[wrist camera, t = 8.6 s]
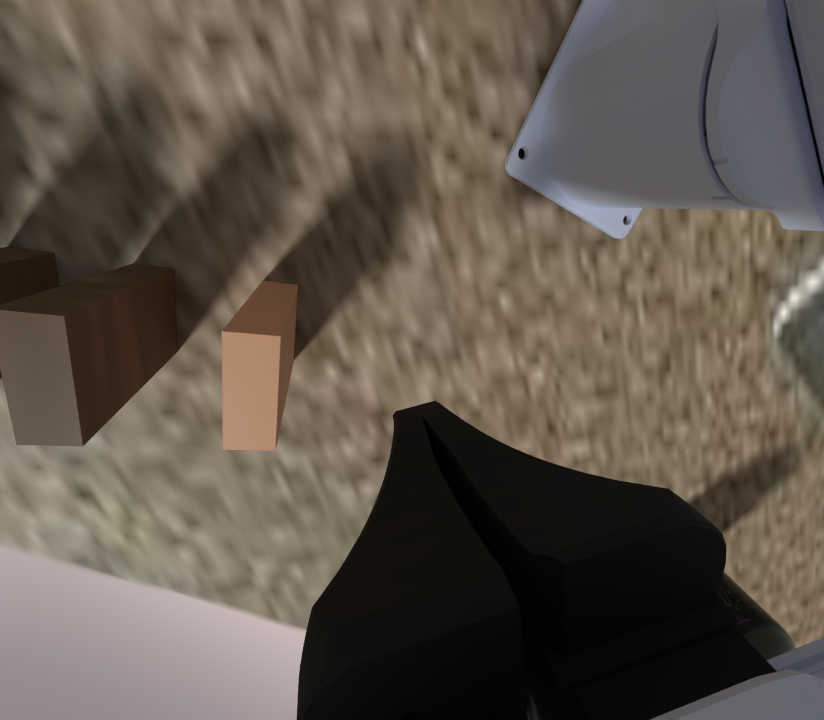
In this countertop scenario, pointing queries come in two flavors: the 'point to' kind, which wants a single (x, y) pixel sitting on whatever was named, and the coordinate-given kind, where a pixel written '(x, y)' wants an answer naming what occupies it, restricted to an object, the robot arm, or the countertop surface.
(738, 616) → the supplement bottle
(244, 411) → the domino
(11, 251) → the domino
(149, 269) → the domino
